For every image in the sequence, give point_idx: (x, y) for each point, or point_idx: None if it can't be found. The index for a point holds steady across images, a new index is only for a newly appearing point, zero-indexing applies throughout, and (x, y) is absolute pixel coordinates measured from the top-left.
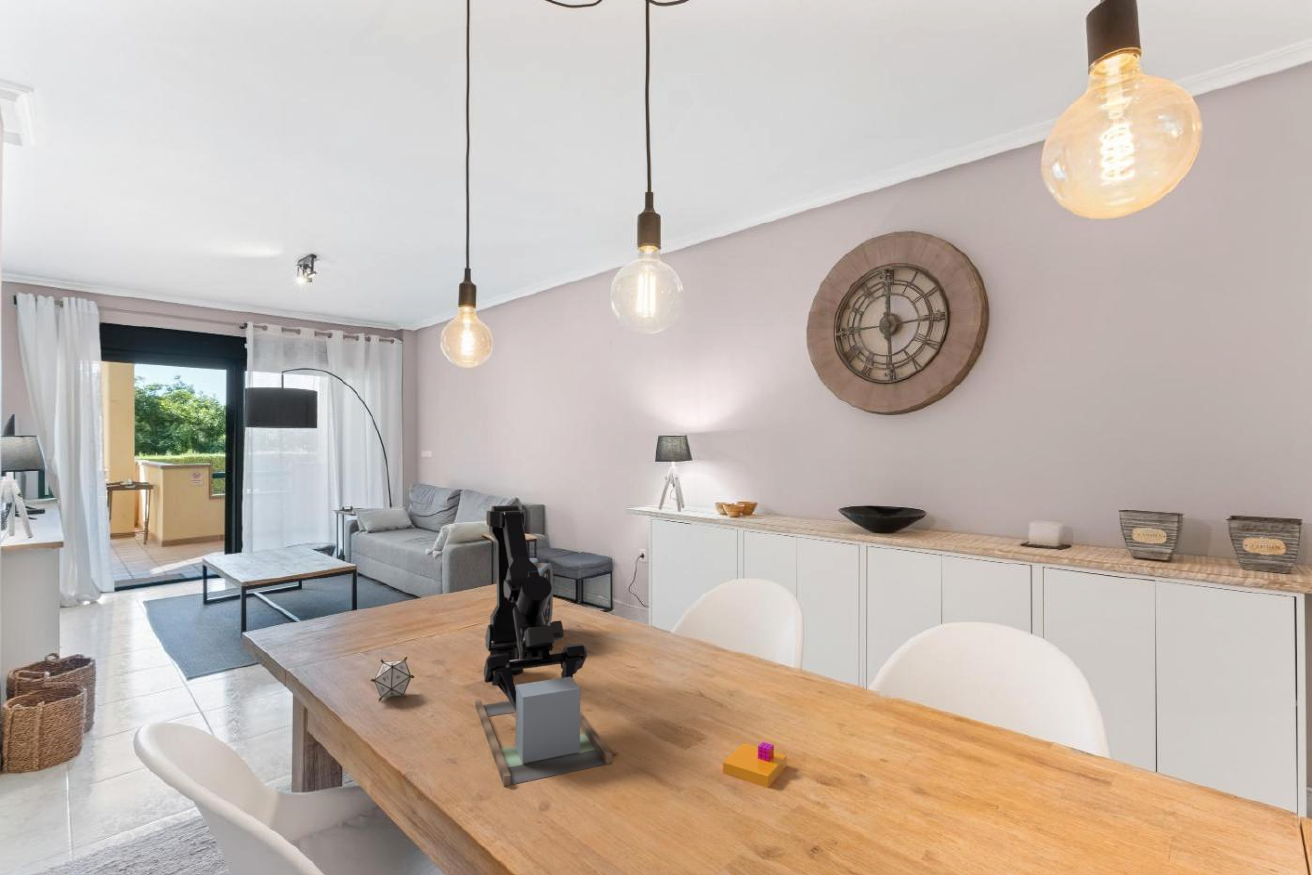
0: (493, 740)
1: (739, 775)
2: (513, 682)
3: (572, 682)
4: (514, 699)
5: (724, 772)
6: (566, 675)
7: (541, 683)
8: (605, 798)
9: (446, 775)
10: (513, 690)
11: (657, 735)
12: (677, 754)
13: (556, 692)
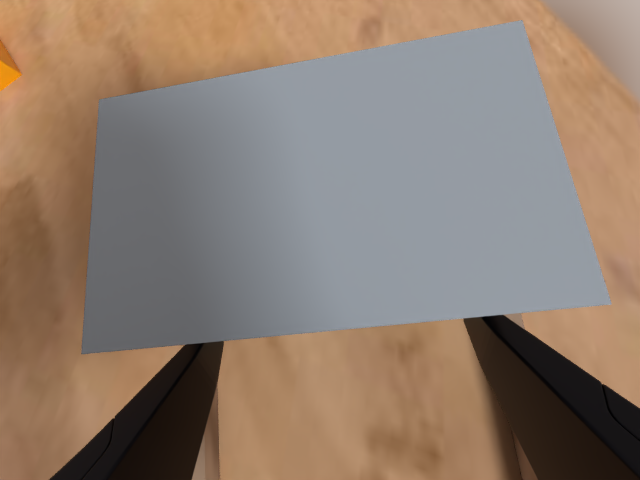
0: (513, 321)
1: (2, 48)
2: (630, 458)
3: (112, 219)
4: (522, 334)
5: (18, 70)
6: (106, 473)
7: (353, 265)
8: (251, 34)
9: (624, 198)
10: (571, 384)
11: (49, 259)
12: (56, 158)
13: (265, 72)
